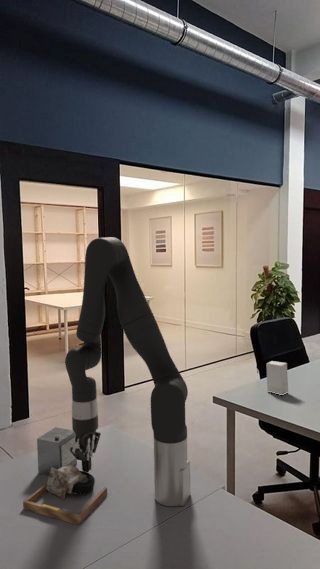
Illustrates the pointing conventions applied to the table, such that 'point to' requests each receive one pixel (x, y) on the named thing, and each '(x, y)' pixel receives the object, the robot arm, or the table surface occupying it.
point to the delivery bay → (56, 512)
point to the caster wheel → (69, 481)
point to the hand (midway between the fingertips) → (86, 470)
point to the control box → (55, 450)
